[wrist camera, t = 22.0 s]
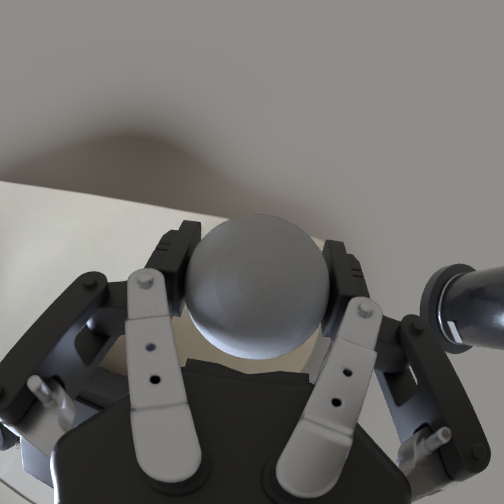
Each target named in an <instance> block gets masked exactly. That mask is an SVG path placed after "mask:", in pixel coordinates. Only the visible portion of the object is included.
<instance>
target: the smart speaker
mask: <svg viewBox="0 0 504 504" xmlns="http://www.w3.org/2000/svg"><path fill="white" fill-rule="evenodd" d="M17 437H18V436H17V435H16V434H14V433H13V432H12V431H11V430H9V429H8V428H7V427H6V426H5V425H3V424H2V423H1V422H0V451H4V450H7V449H9V448H10V447H12V446H14V445H15V444H16V442H17Z"/></svg>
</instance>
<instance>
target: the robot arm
mask: <svg viewBox="0 0 504 504" xmlns="http://www.w3.org/2000/svg"><path fill="white" fill-rule="evenodd" d="M200 241H201V222H196V221H188V220H184V221H183V222H182V224H181V226H180V228H179V230H170V231H168V232H167V233H166V234H164V235H163V236H162V238H161V240H160V241H159V244H158V245H157V246H156V248H155V250H154V251H153V253H152V255H151V257H150V258H149V260H148V262H147V264H146V265H145V267H144V269H139V270H137V271H135V272H133V273H132V274H131V275H130V276H129V278H128V280H127V281H122V282H107V278H106V276H105V275H104V274H102V273H100V272H96V271H92V272H87V273H84V274H82V275H80V276H79V277H78V278H77V279H76V280H75V281H74V282H73V283H72V284H71V285H70V286H69V287H68V288H67V289H66V290H65V291H64V292H63V293H62V294H61V295H60V296H59V297H58V298H57V299H56V300H55V301H54V302H53V303H52V304H51V305H50V306H49V307H48V308H47V310H46V311H45V312H44V313H43V314H42V315H41V316H40V317H39V318H38V319H37V320H36V321H35V323H34V324H33V325H32V326H31V327H30V328H29V329H28V330H27V332H26V333H25V334H24V335H23V336H22V337H21V338H20V340H19V341H18V342H17V343H16V344H15V345H14V347H13V348H12V349H11V350H10V351H9V353H8V354H7V355H6V356H5V357H4V359H3V360H2V361H1V362H0V422H1V423H2V424H3V425H5V426H6V427H7V428H8V429H9V430H11V431H12V432H13V433H14V434H16V435H17V436H19V437H21V438H22V439H24V440H25V441H26V442H28V443H29V444H31V445H33V446H35V447H36V448H37V449H38V450H39V451H41V452H42V453H43V454H45V455H46V456H47V457H48V458H50V459H51V461H50V462H51V473H52V478H53V482H54V489H55V504H411V503H412V502H414V501H416V500H419V499H421V498H423V497H425V496H429V495H433V494H435V493H438V492H440V491H443V490H445V489H447V488H449V487H452V486H454V485H456V484H458V483H460V482H462V481H464V480H466V479H468V478H470V477H472V476H474V475H476V474H478V473H480V472H482V471H483V470H484V469H485V468H486V467H487V466H488V464H489V462H490V457H491V450H490V446H489V444H488V442H487V439H486V436H485V434H484V432H483V429H482V427H481V424H480V422H479V420H478V418H477V415H476V413H475V411H474V409H473V406H472V404H471V402H470V400H469V398H468V396H467V394H466V392H465V390H464V388H463V386H462V384H461V382H460V380H459V378H458V376H457V374H456V372H455V370H454V368H453V366H452V364H451V362H450V360H449V359H448V357H447V355H446V353H445V351H444V349H443V347H442V346H441V344H440V342H439V340H438V339H437V337H436V335H435V333H434V332H433V330H432V328H431V326H430V325H429V323H428V322H427V321H426V320H425V319H423V318H422V317H420V316H417V315H412V314H409V315H406V316H405V317H403V319H402V321H401V322H400V321H397V320H394V319H391V318H389V317H386V316H384V315H383V313H382V309H381V307H380V306H379V305H378V304H377V303H376V302H375V301H373V300H372V299H370V296H369V292H368V290H367V286H366V282H365V279H364V276H363V272H362V269H361V266H360V263H359V261H358V260H357V259H356V258H355V257H354V255H352V254H347V253H346V249H345V246H344V243H343V242H340V241H333V240H326V242H325V244H324V248H323V251H322V255H323V257H324V259H325V262H326V265H327V268H328V272H329V278H330V294H329V301H328V306H327V309H326V312H325V315H324V317H323V319H322V321H321V328H322V336H323V337H331V343H330V346H329V348H328V350H327V352H326V355H325V357H324V359H323V362H322V364H321V366H320V368H319V370H318V373H317V375H316V377H315V379H314V381H313V383H309V374H306V373H294V372H283V371H277V372H268V373H259V374H245V373H242V372H239V371H236V370H234V369H231V368H228V367H226V366H223V365H220V364H218V363H213V362H207V361H201V360H195V359H189V358H187V362H186V366H185V367H180V364H179V359H178V354H177V349H176V344H175V339H174V333H173V328H172V322H171V319H172V316H176V317H181V314H182V311H183V308H184V305H185V302H186V300H185V293H184V281H185V274H186V269H187V265H188V262H189V260H190V257H191V255H192V253H193V251H194V250H195V248H196V247H197V245H198V244H199V242H200ZM436 320H437V324H438V328H439V330H440V332H441V334H442V336H443V337H444V338H445V339H446V340H447V341H448V342H450V343H452V344H457V345H469V346H476V347H484V348H492V349H500V350H504V266H499V267H494V268H490V269H484V270H479V271H473V272H468V273H459V274H455V275H453V276H451V277H450V278H449V279H448V280H447V281H446V282H445V283H444V285H443V286H442V288H441V290H440V293H439V295H438V299H437V304H436ZM85 324H86V325H85ZM84 325H85V326H84ZM83 326H84V327H83ZM80 330H81V331H80ZM79 331H80V332H79ZM78 332H79V333H78ZM76 335H77V336H76ZM120 335H125V337H126V356H127V370H128V381H129V392H128V393H127V394H125V395H124V396H122V397H121V398H119V399H118V400H116V401H114V402H113V403H111V404H110V405H108V406H107V407H105V408H104V409H102V410H101V411H99V412H97V413H96V414H94V415H93V416H91V417H90V418H88V419H86V420H85V421H83V422H82V423H80V424H79V425H77V426H75V427H74V428H72V429H71V425H72V424H73V421H74V417H75V411H76V410H75V405H74V402H73V401H74V400H75V398H76V397H77V395H78V394H79V392H80V391H81V390H82V388H83V387H84V385H85V384H86V382H87V381H88V379H89V378H90V376H91V375H92V374H93V372H94V371H95V369H96V368H97V366H98V365H99V364H100V362H101V361H102V359H103V358H104V357H105V355H106V354H107V352H108V351H109V350H110V348H111V347H112V346H113V344H114V343H115V341H116V340H117V339H118V337H119V336H120ZM410 365H411V367H412V370H413V372H414V374H415V376H416V379H417V385H416V382H415V380H414V378H413V376H412V373H411V371H410V369H409V366H410ZM373 369H374V371H375V374H376V376H377V379H378V381H379V384H380V386H381V389H382V392H383V394H384V397H385V400H386V402H387V405H388V408H389V410H390V413H391V416H392V419H393V422H394V424H395V427H396V430H397V433H398V436H399V439H400V442H401V446H400V448H399V450H398V456H397V457H398V458H397V461H396V465H397V466H396V465H395V464H394V463H393V461H392V460H391V459H390V458H389V457H388V456H387V455H386V454H385V453H384V452H383V450H382V449H381V448H380V447H379V446H378V445H377V444H376V443H375V442H374V440H373V439H372V438H371V437H370V436H369V435H368V434H367V433H366V432H365V430H364V429H363V428H362V427H361V426H360V425H359V424H358V422H357V421H358V418H359V415H360V412H361V409H362V405H363V402H364V399H365V396H366V393H367V390H368V386H369V382H370V379H371V376H372V372H373Z"/></svg>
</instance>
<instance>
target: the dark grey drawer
mask: <svg viewBox="0 0 504 504" xmlns="http://www.w3.org/2000/svg"><path fill="white" fill-rule="evenodd" d="M128 392H129V381H128V378H125V377H122V376H120V375H117V374H114V373H112V372H109V371H107V370H104V369H102V368H99V367H97V368H96V369H95V371H94V372H93V374H92V375H91V376H90V378H89V379H88V381H87V382H86V384H85V385H84V387H83V388H82V390H81V391H80V392H79V394H78V395H77V398H80V399H82V400H84V401H86V402H88V403H91V404H93V405H95V406H97V407H100V408H102V409H104V408H105V407H107V406H108V405H110V404H111V403H113V402H114V401H116V400H118V399H119V398H121V397H122V396H124V395H125V394H127V393H128Z"/></svg>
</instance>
